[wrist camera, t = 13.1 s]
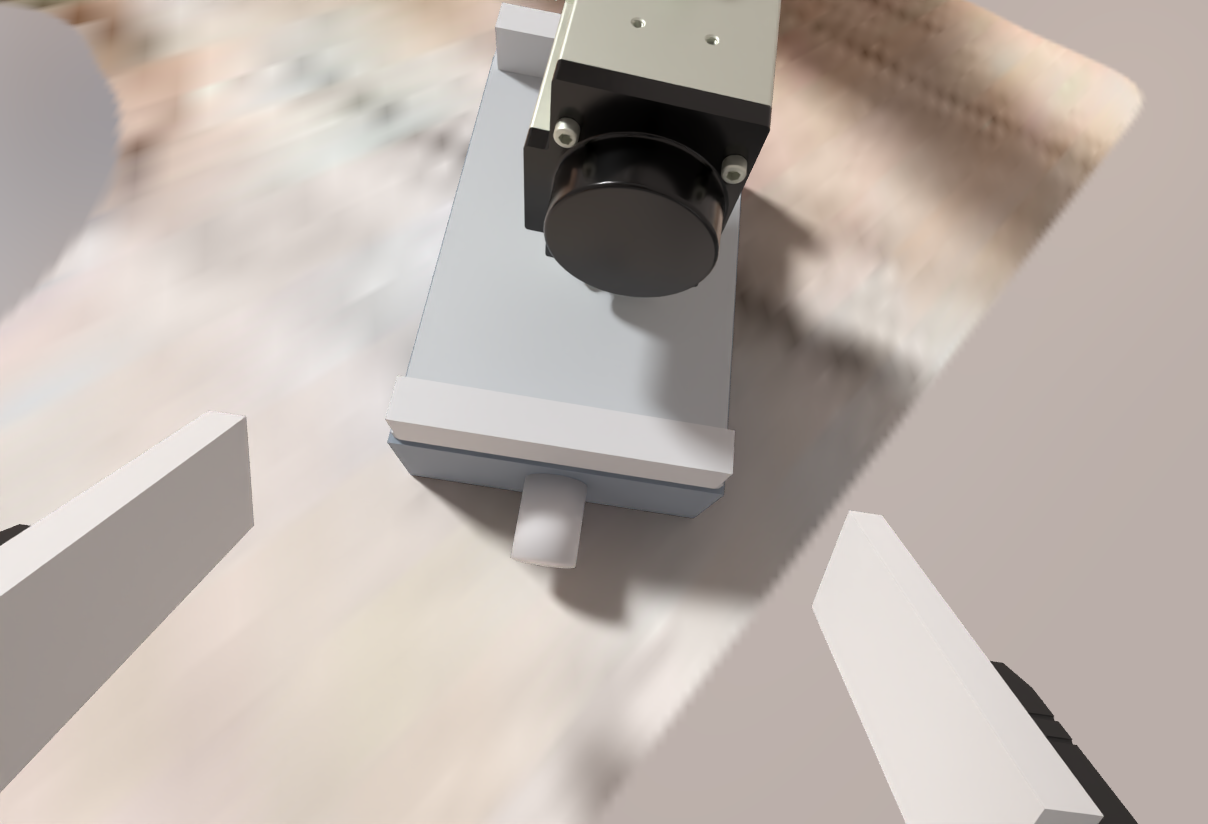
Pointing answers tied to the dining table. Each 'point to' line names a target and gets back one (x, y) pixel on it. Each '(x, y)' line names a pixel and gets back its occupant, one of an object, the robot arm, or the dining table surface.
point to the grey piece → (558, 350)
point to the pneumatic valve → (648, 136)
